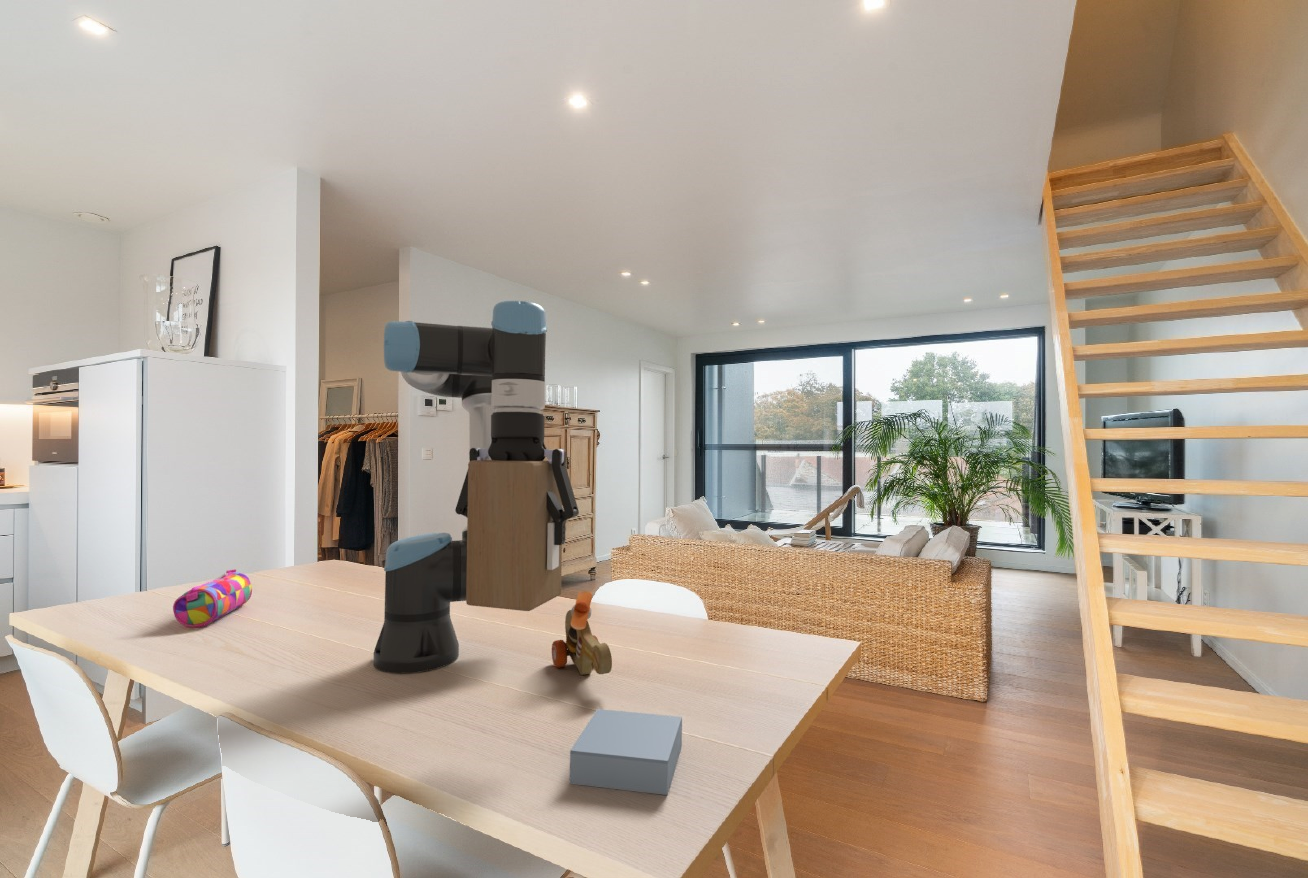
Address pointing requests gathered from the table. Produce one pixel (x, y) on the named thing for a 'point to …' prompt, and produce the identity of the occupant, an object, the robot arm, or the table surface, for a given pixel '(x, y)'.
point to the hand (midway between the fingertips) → (516, 566)
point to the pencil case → (212, 599)
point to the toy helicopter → (581, 641)
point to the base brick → (627, 751)
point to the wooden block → (510, 535)
